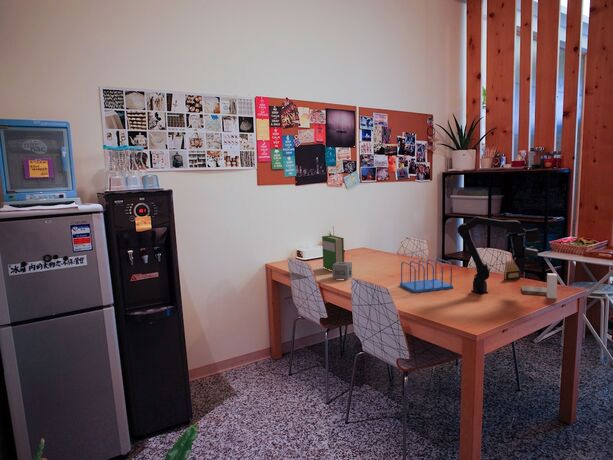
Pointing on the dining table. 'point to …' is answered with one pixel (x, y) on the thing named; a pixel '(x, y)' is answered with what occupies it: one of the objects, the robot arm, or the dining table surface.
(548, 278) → the white box
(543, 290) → the plank
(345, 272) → the icon cube
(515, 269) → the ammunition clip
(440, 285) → the file sorter
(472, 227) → the robot arm
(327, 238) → the hardback book
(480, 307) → the dining table surface
